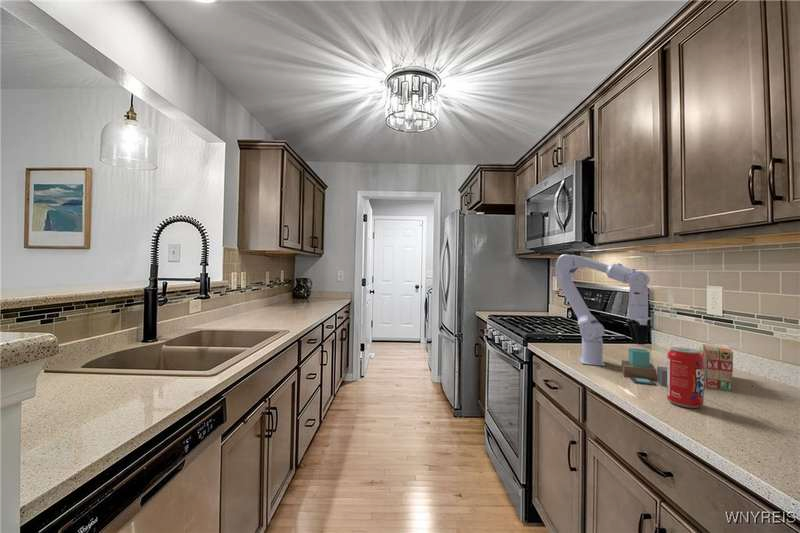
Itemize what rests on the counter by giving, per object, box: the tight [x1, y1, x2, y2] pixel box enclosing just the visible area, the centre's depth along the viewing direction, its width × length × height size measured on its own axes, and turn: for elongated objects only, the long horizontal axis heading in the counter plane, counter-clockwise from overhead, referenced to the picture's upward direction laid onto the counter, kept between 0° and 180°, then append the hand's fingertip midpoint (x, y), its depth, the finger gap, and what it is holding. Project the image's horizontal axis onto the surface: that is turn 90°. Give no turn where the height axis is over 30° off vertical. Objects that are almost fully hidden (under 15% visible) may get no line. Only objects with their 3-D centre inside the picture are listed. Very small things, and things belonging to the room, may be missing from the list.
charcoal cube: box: [656, 366, 667, 387], centre depth 116 cm, size 5×5×5 cm
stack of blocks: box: [699, 342, 734, 392], centre depth 120 cm, size 21×6×12 cm, turn 145°
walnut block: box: [621, 359, 657, 382], centre depth 126 cm, size 9×9×4 cm
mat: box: [629, 377, 658, 387], centre depth 118 cm, size 6×6×1 cm
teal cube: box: [628, 347, 651, 367], centre depth 126 cm, size 5×5×5 cm
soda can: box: [666, 346, 705, 409], centre depth 99 cm, size 8×8×15 cm
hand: (638, 342), depth 131 cm, fingers open, 7 cm apart
